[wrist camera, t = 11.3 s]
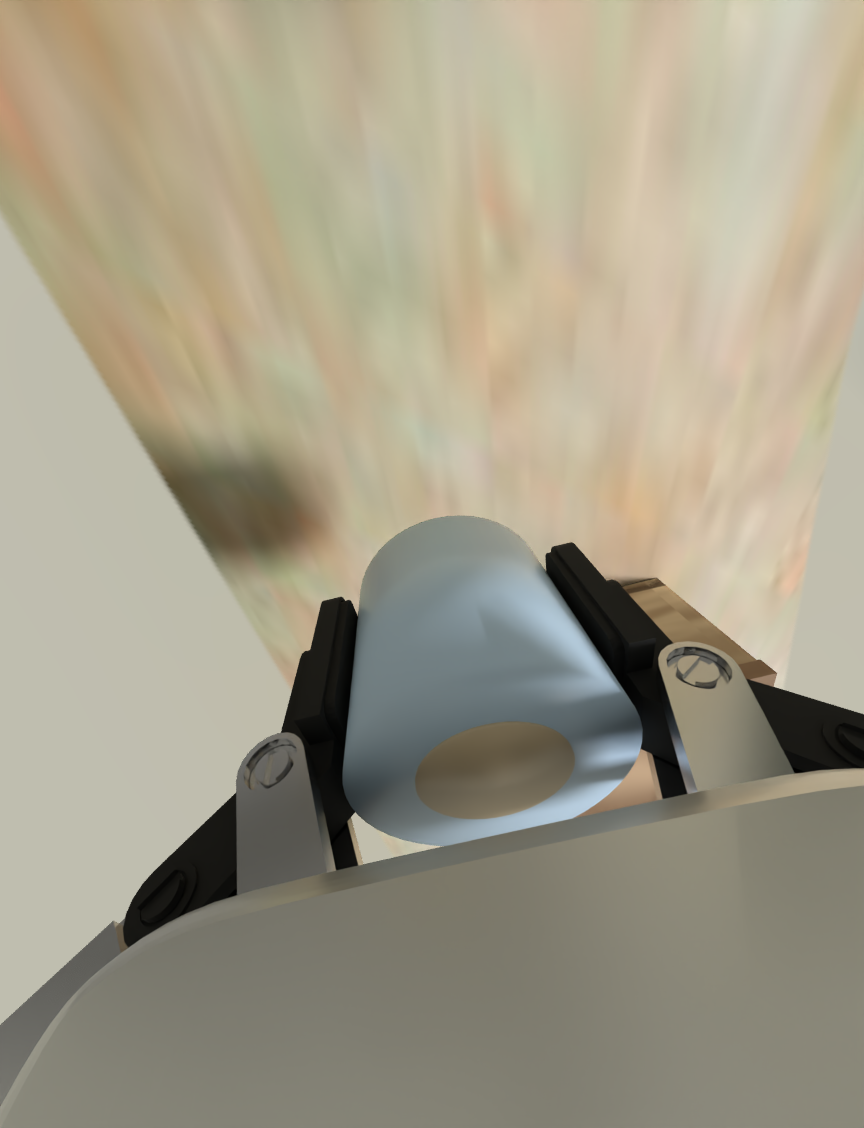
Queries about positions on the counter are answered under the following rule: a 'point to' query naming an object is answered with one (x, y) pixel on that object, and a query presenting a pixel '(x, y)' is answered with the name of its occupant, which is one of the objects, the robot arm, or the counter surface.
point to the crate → (682, 619)
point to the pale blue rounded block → (476, 692)
